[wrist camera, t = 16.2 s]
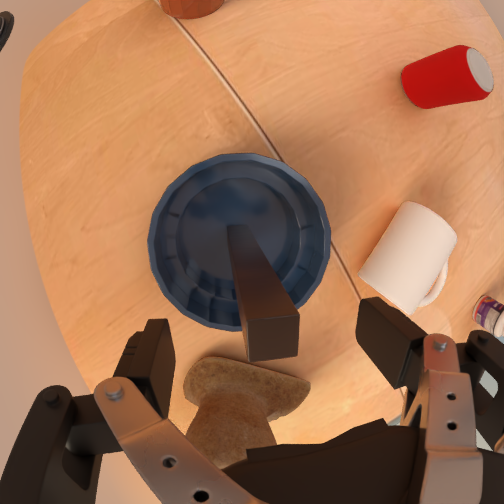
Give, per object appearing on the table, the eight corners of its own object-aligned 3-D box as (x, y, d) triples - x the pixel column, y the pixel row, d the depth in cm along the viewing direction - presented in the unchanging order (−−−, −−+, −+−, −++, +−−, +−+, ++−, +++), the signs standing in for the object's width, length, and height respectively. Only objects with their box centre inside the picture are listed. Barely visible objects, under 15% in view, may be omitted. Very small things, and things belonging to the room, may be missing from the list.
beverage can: (388, 79, 25) (456, 53, 13) (410, 59, 24) (473, 34, 13) (417, 118, 27) (489, 109, 15) (437, 95, 26) (502, 83, 14)
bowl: (171, 306, 29) (163, 336, 24) (155, 164, 25) (139, 162, 19) (307, 295, 31) (325, 321, 25) (307, 156, 27) (330, 153, 21)
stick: (227, 245, 27) (248, 363, 10) (226, 226, 27) (245, 319, 10) (248, 244, 28) (298, 356, 10) (247, 224, 27) (300, 314, 10)
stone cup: (171, 399, 33) (161, 490, 19) (202, 338, 31) (200, 443, 17) (266, 424, 37) (285, 504, 22) (308, 373, 34) (348, 459, 20)
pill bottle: (490, 296, 37) (524, 316, 28) (479, 321, 38) (511, 343, 29) (479, 292, 36) (516, 314, 27) (468, 319, 37) (502, 344, 28)
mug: (345, 266, 31) (381, 294, 23) (390, 196, 29) (436, 205, 21) (401, 307, 34) (436, 336, 26) (439, 248, 32) (479, 266, 24)
